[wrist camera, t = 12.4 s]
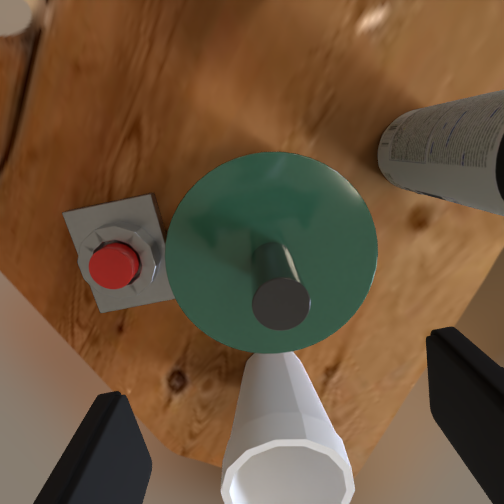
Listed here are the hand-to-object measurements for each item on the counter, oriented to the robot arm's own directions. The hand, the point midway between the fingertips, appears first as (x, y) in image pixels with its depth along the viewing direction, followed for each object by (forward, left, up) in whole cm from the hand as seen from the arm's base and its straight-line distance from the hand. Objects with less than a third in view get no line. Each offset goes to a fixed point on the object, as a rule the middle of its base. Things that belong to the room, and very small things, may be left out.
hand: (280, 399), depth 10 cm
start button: (0, -12, -19) cm, 23 cm away
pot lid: (0, +1, -12) cm, 12 cm away
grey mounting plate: (0, -12, -22) cm, 25 cm away
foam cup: (+16, -1, -22) cm, 27 cm away
